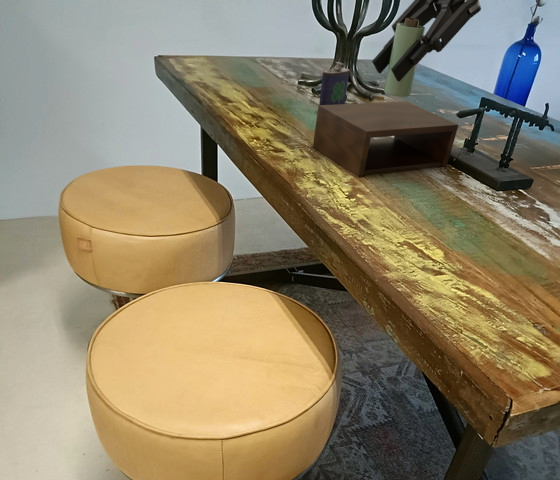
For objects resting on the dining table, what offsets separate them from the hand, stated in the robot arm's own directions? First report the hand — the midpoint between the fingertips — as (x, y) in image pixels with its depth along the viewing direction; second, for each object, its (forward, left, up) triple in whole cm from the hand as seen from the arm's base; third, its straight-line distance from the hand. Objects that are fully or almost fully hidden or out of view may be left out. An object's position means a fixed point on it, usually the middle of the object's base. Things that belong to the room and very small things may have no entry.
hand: (385, 71), depth 103 cm
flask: (+30, -11, -16) cm, 36 cm away
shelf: (0, -3, -16) cm, 16 cm away
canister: (0, -4, -4) cm, 5 cm away
